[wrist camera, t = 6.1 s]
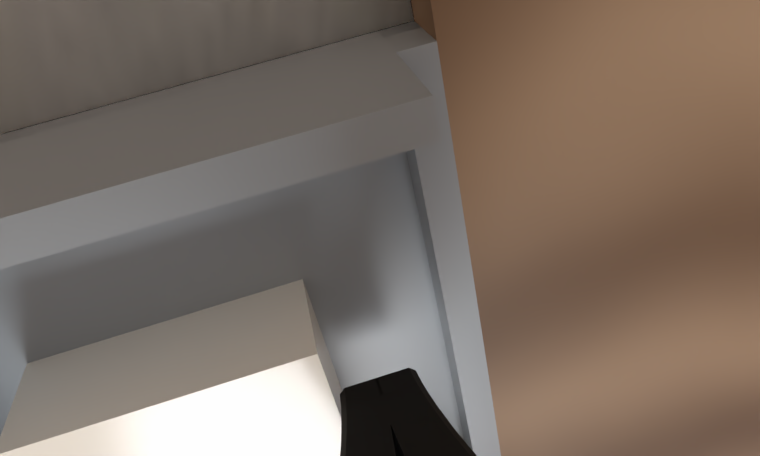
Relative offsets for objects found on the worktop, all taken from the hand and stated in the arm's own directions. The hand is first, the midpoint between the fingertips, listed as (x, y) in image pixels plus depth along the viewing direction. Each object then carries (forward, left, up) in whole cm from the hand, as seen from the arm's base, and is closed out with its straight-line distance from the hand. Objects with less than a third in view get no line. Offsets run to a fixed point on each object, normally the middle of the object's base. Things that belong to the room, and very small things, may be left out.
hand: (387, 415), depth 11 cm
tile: (0, +3, -2) cm, 4 cm away
